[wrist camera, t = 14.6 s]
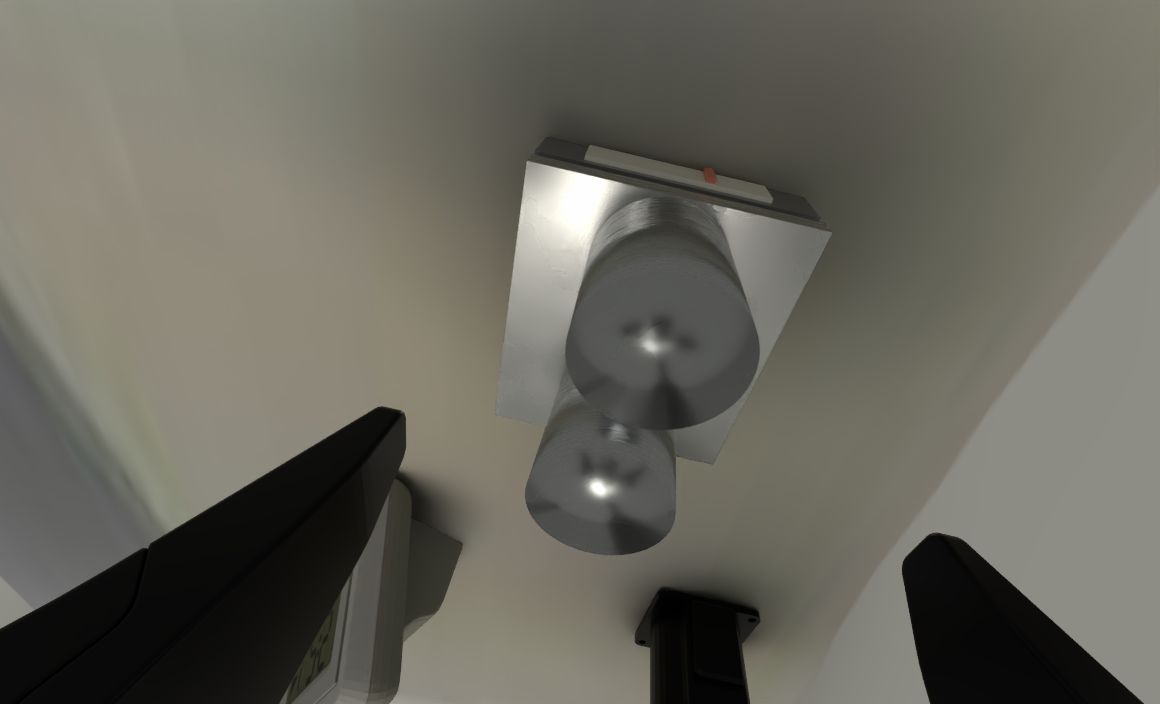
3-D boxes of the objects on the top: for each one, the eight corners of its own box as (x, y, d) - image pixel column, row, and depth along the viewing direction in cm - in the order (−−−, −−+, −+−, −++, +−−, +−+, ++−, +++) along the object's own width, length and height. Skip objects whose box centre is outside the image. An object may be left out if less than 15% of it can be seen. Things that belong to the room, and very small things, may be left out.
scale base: (705, 411, 23) (709, 442, 21) (513, 367, 23) (502, 394, 21) (808, 188, 17) (825, 208, 15) (548, 127, 17) (536, 139, 15)
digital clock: (395, 456, 27) (273, 666, 18) (515, 540, 30) (460, 755, 22) (267, 555, 35) (138, 738, 26) (375, 615, 38) (291, 796, 29)
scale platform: (711, 450, 21) (712, 464, 20) (499, 402, 21) (494, 414, 20) (824, 222, 15) (832, 232, 14) (532, 154, 15) (527, 160, 14)
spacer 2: (675, 447, 19) (675, 560, 15) (565, 442, 20) (536, 548, 16) (676, 352, 17) (676, 456, 13) (552, 350, 18) (514, 447, 14)
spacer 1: (703, 340, 17) (719, 445, 13) (576, 311, 17) (552, 408, 13) (753, 215, 14) (793, 297, 10) (604, 182, 14) (584, 250, 10)
